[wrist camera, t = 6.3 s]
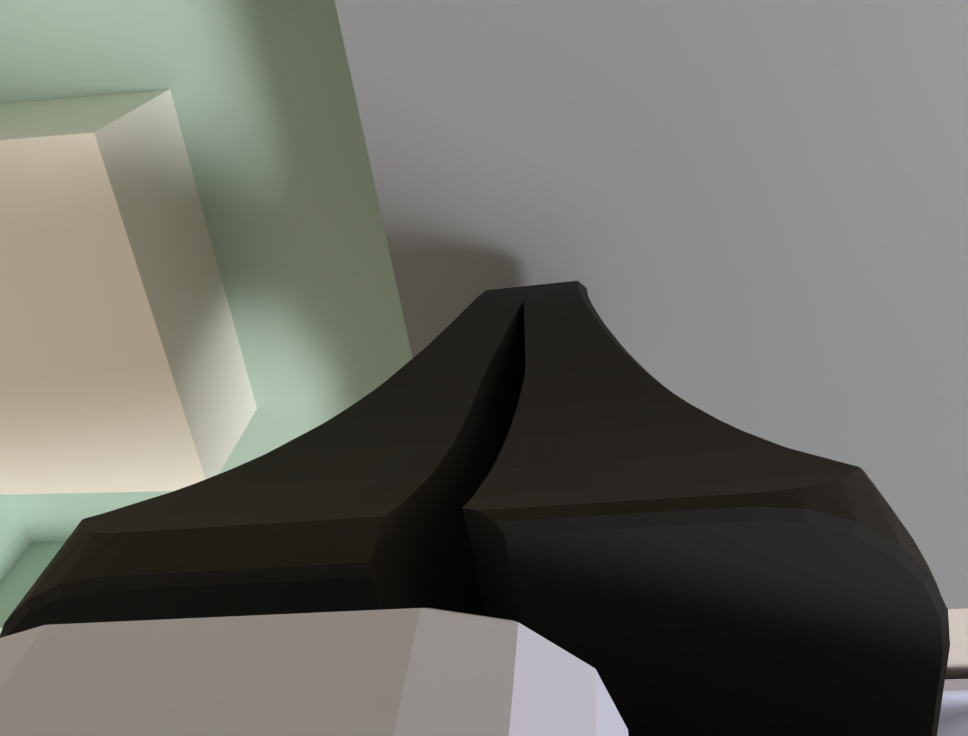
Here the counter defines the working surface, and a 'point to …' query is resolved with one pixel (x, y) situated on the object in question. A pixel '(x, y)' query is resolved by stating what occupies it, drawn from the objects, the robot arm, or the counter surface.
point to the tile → (110, 304)
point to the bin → (233, 207)
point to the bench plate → (705, 206)
